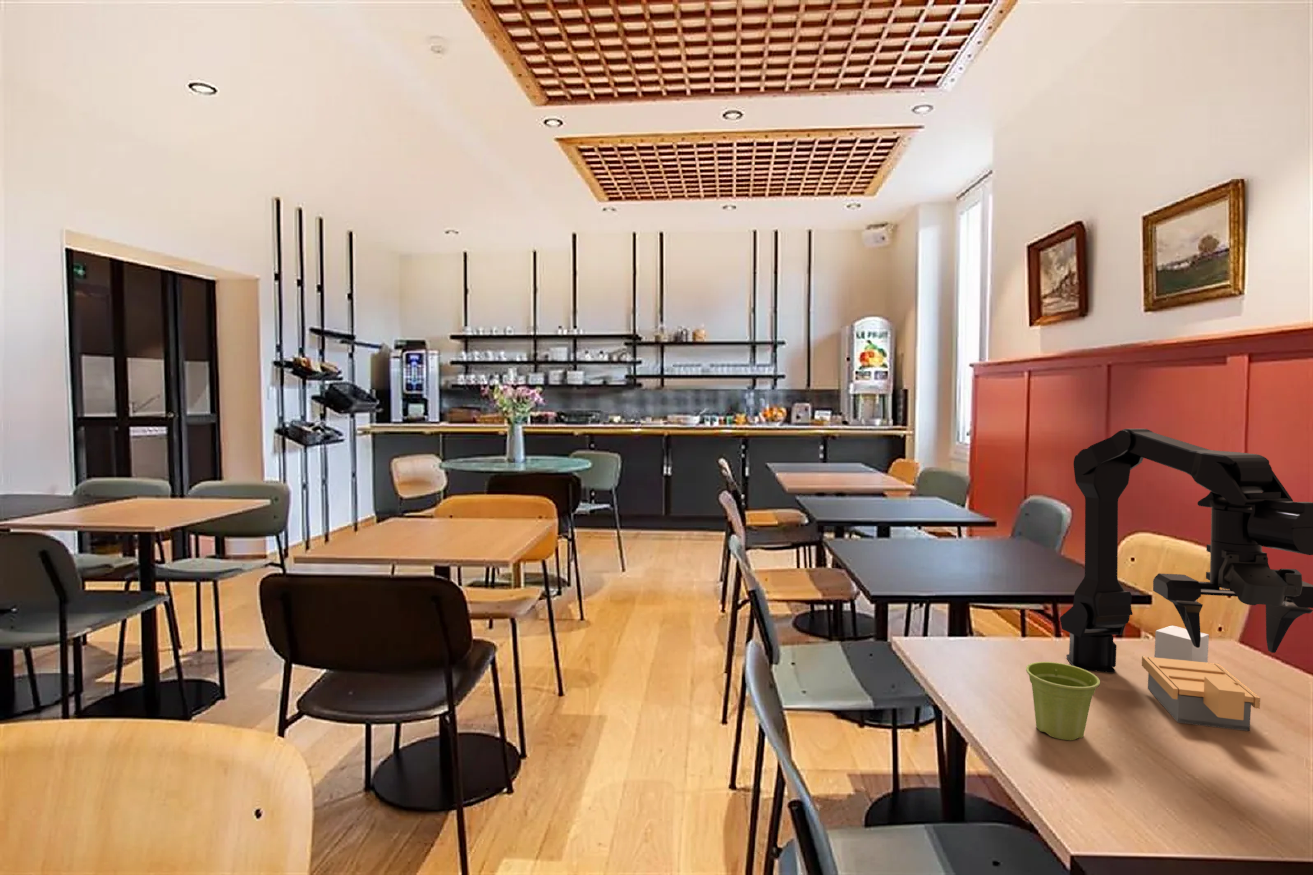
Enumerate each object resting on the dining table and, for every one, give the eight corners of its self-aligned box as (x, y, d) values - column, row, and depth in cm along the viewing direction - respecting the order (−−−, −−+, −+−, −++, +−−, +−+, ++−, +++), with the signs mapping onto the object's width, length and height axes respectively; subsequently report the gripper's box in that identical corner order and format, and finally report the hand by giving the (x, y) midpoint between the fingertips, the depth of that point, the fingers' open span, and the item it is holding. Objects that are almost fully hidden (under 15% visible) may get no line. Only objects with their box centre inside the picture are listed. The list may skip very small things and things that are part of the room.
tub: (1177, 722, 108) (1178, 695, 107) (1147, 688, 120) (1148, 664, 120) (1249, 731, 105) (1251, 703, 105) (1211, 695, 117) (1212, 670, 117)
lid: (1185, 713, 103) (1187, 686, 102) (1141, 666, 120) (1142, 642, 120) (1277, 724, 99) (1278, 696, 99) (1217, 673, 117) (1219, 649, 117)
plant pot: (1088, 722, 108) (1090, 666, 107) (1105, 751, 99) (1107, 690, 98) (1019, 713, 111) (1021, 658, 110) (1029, 741, 102) (1031, 681, 101)
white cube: (1154, 662, 132) (1155, 630, 131) (1170, 656, 135) (1171, 625, 134) (1191, 673, 127) (1193, 640, 126) (1207, 666, 130) (1209, 634, 129)
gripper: (1186, 549, 97) (1184, 662, 97) (1353, 555, 92) (1350, 675, 92) (1152, 535, 108) (1150, 638, 108) (1300, 540, 103) (1298, 647, 103)
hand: (1233, 649), depth 103 cm, fingers open, 9 cm apart
